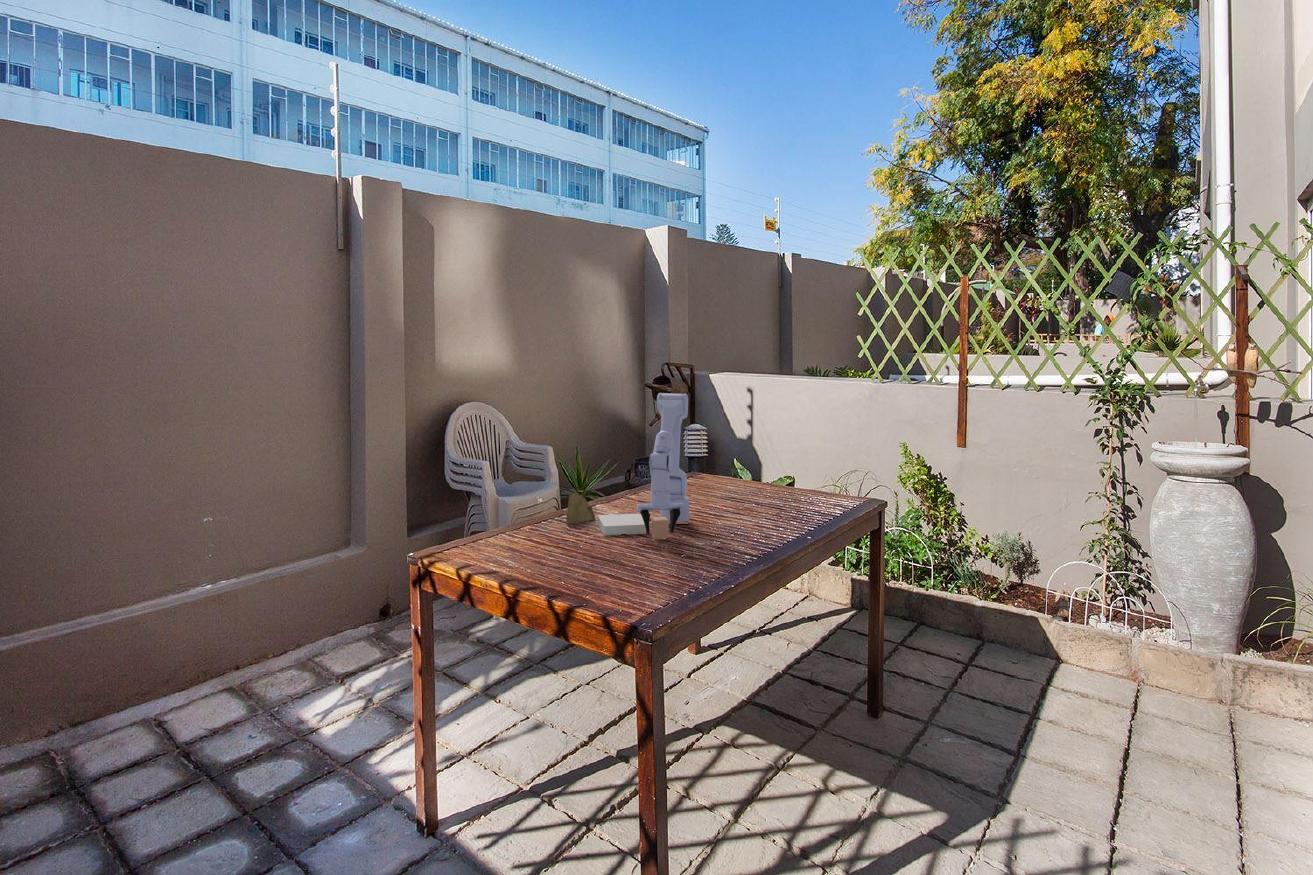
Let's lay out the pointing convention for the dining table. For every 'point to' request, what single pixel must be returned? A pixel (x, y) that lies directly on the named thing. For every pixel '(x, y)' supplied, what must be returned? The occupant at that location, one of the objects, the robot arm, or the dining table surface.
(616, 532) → the base plinth
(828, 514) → the dining table surface
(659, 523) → the terracotta block
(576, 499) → the rock
